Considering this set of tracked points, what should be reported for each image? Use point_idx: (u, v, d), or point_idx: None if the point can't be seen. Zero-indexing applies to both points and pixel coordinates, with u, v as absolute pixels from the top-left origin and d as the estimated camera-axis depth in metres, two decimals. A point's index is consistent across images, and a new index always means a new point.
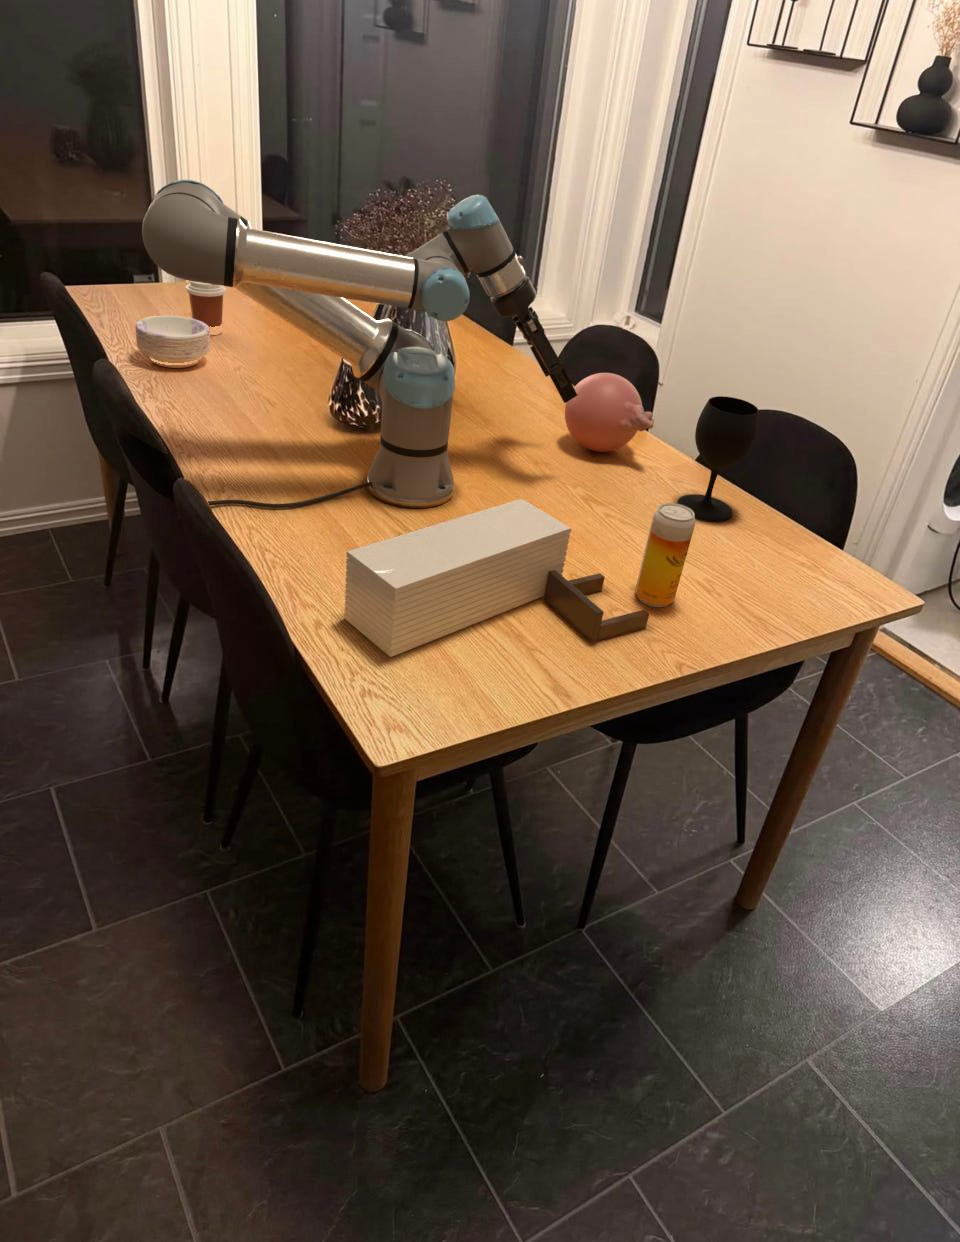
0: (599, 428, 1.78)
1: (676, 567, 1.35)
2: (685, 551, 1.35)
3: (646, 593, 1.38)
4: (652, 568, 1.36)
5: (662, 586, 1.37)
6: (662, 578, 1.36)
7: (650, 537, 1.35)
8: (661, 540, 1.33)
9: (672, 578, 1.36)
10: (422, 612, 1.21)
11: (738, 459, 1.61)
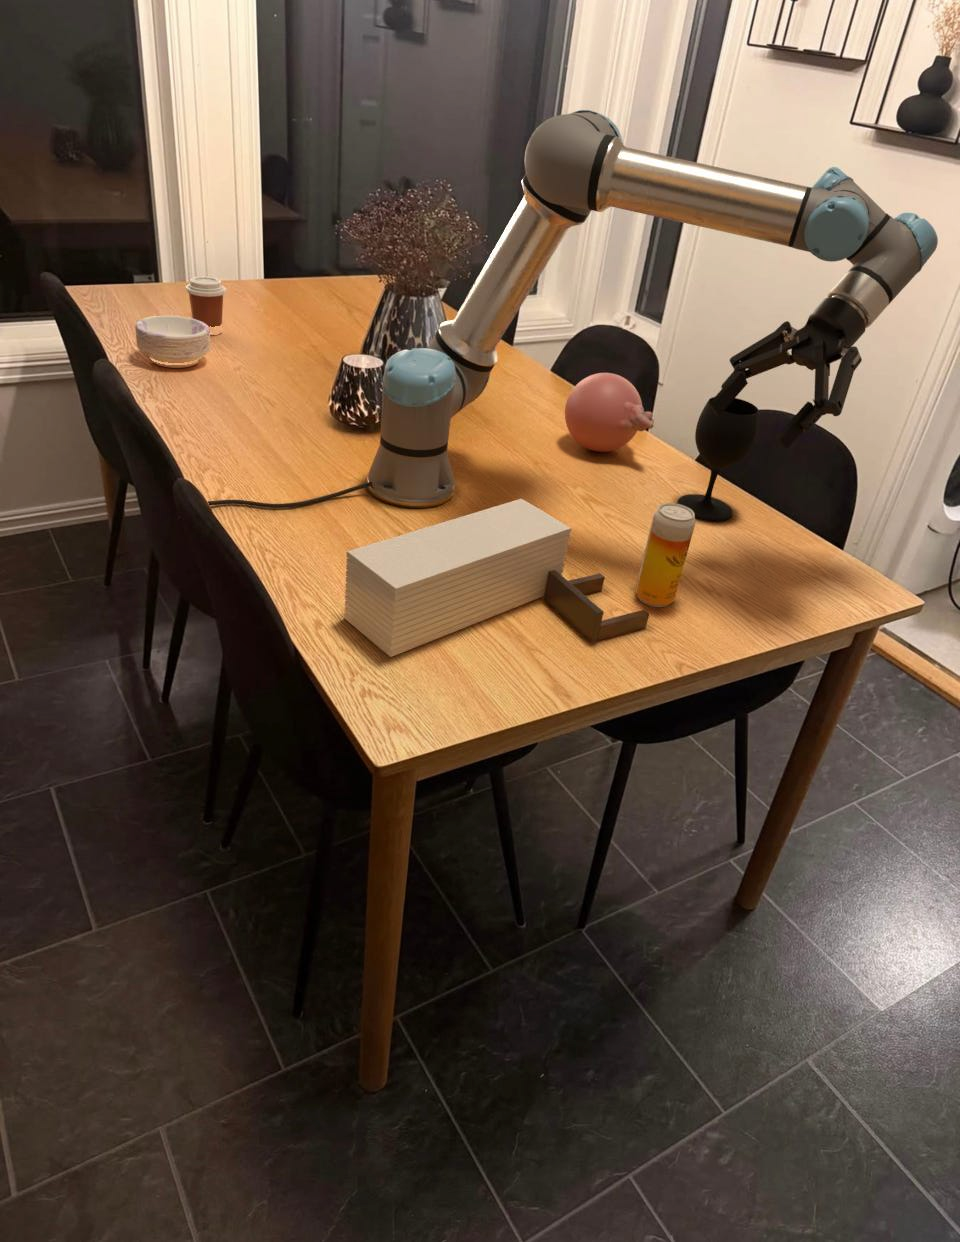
0: (599, 428, 1.78)
1: (676, 567, 1.35)
2: (685, 551, 1.35)
3: (646, 593, 1.38)
4: (652, 568, 1.36)
5: (662, 586, 1.37)
6: (662, 578, 1.36)
7: (650, 537, 1.35)
8: (661, 541, 1.33)
9: (672, 578, 1.36)
10: (422, 612, 1.21)
11: (738, 459, 1.61)
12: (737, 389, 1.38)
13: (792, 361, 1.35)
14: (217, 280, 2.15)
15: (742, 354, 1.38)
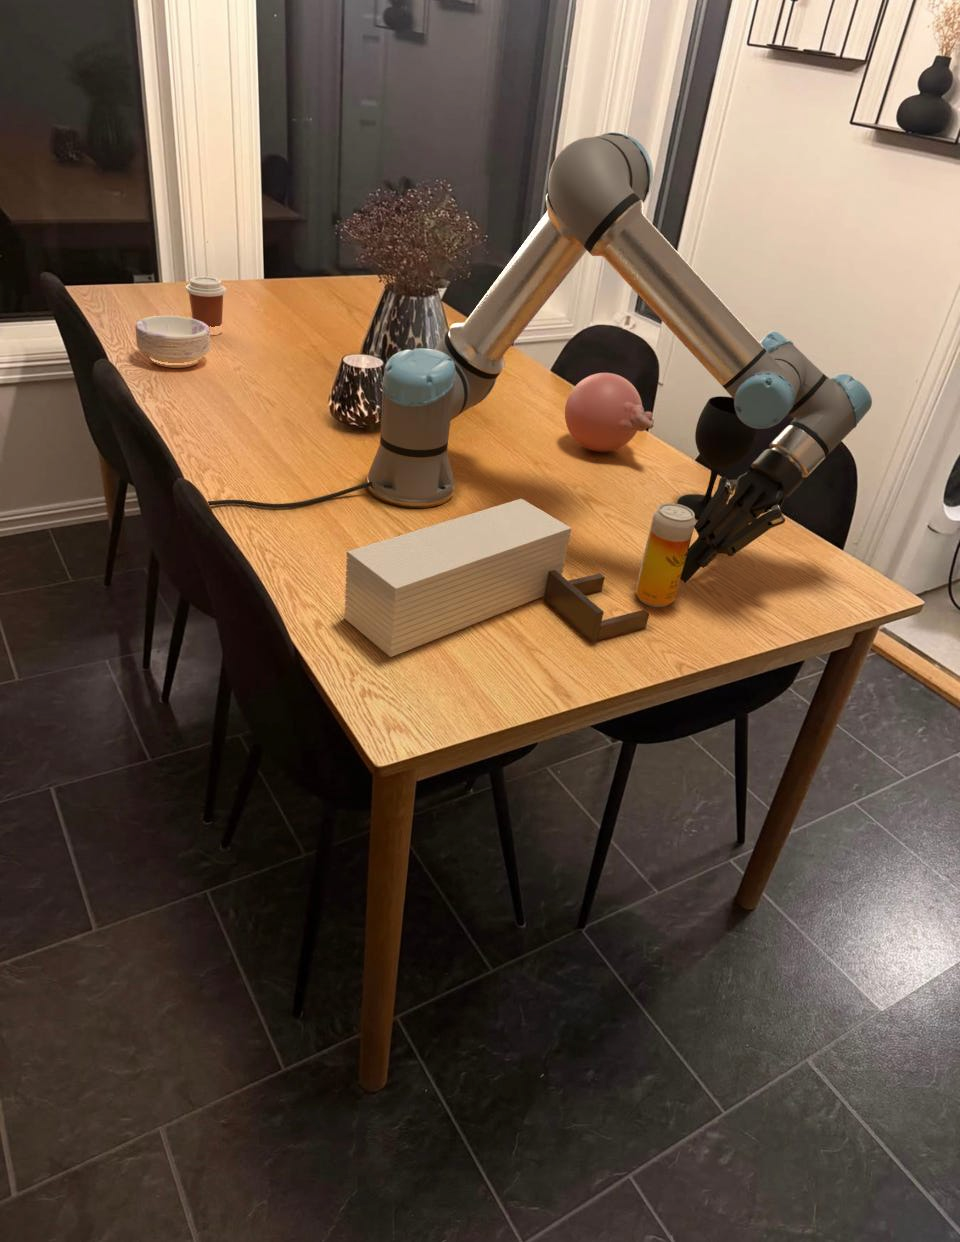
0: (599, 428, 1.78)
1: (676, 567, 1.35)
2: (685, 551, 1.35)
3: (646, 593, 1.38)
4: (652, 568, 1.36)
5: (662, 587, 1.37)
6: (662, 578, 1.36)
7: (650, 537, 1.35)
8: (661, 541, 1.33)
9: (672, 578, 1.36)
10: (422, 612, 1.21)
11: (738, 459, 1.61)
12: None
13: None
14: (217, 280, 2.15)
15: (703, 518, 1.43)
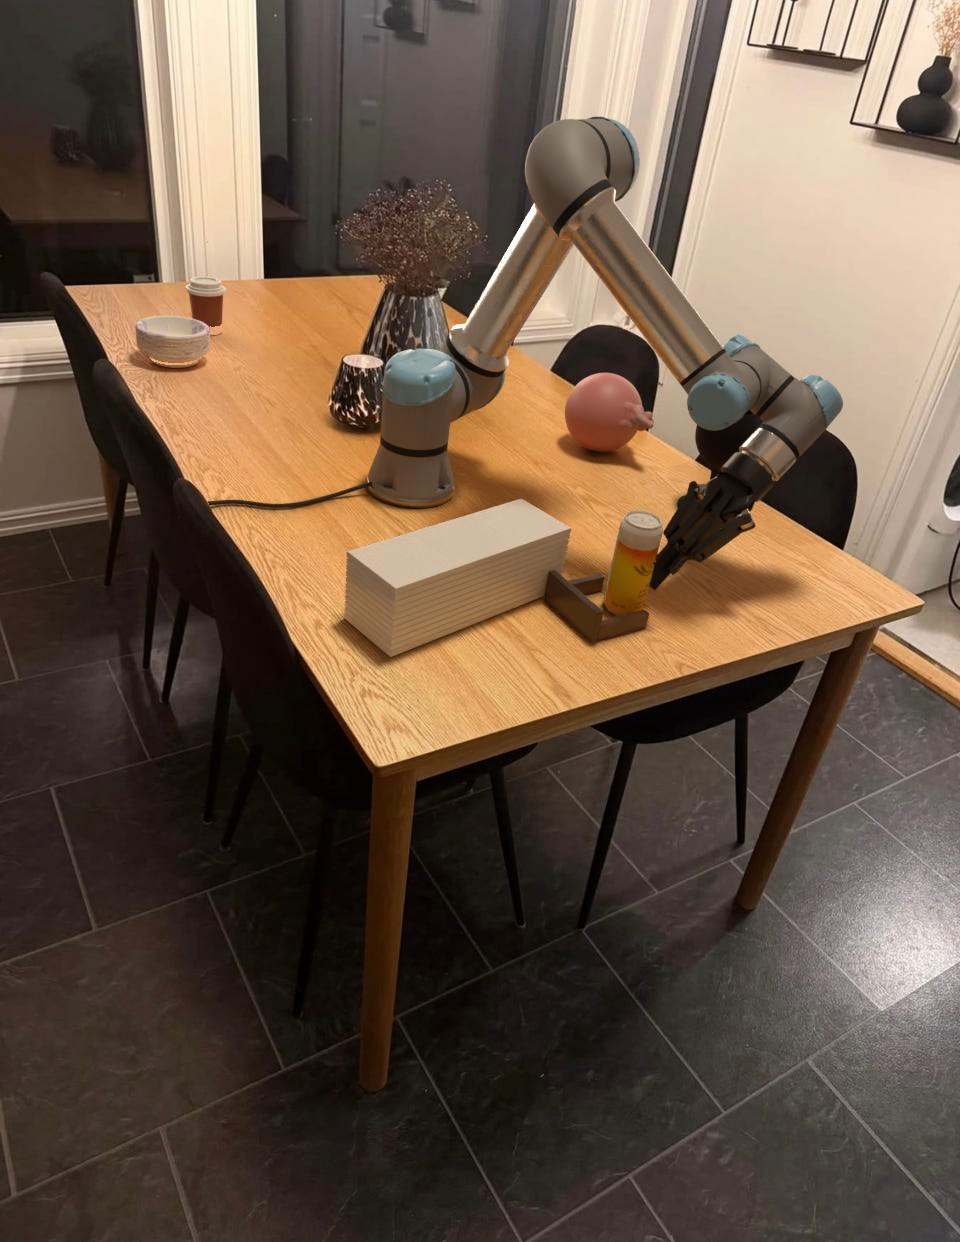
0: (599, 428, 1.78)
1: (644, 576, 1.32)
2: (653, 560, 1.31)
3: (614, 603, 1.35)
4: (620, 578, 1.33)
5: (630, 596, 1.34)
6: (630, 588, 1.33)
7: (617, 546, 1.32)
8: (628, 550, 1.30)
9: (640, 587, 1.33)
10: (422, 612, 1.21)
11: None
12: None
13: None
14: (217, 280, 2.15)
15: (672, 524, 1.40)
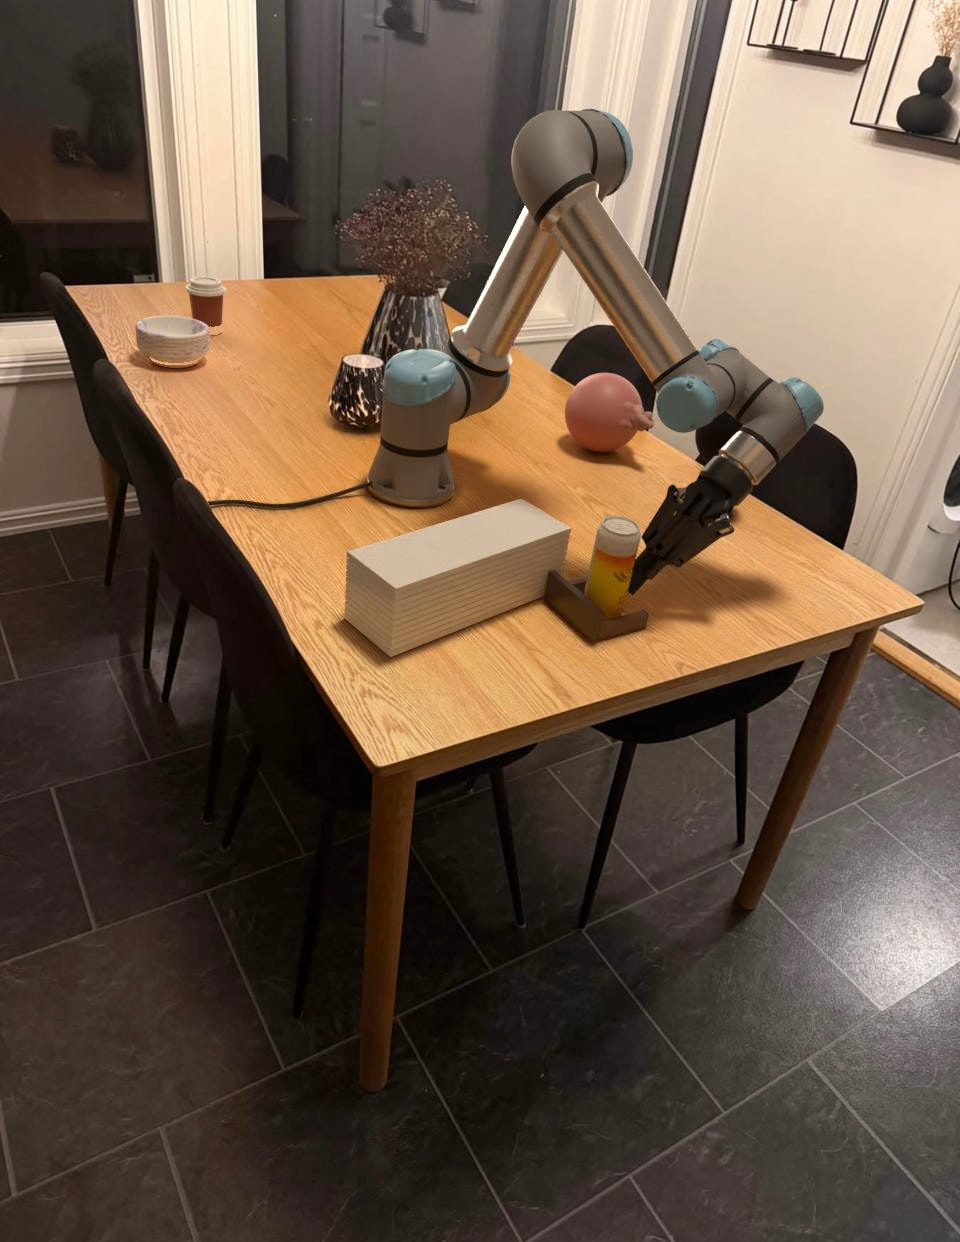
0: (599, 428, 1.78)
1: (624, 583, 1.30)
2: (632, 565, 1.29)
3: None
4: (599, 585, 1.30)
5: (610, 603, 1.31)
6: (610, 595, 1.30)
7: (595, 553, 1.29)
8: (607, 557, 1.27)
9: (620, 594, 1.31)
10: (422, 612, 1.21)
11: None
12: None
13: None
14: (217, 280, 2.15)
15: (650, 528, 1.37)
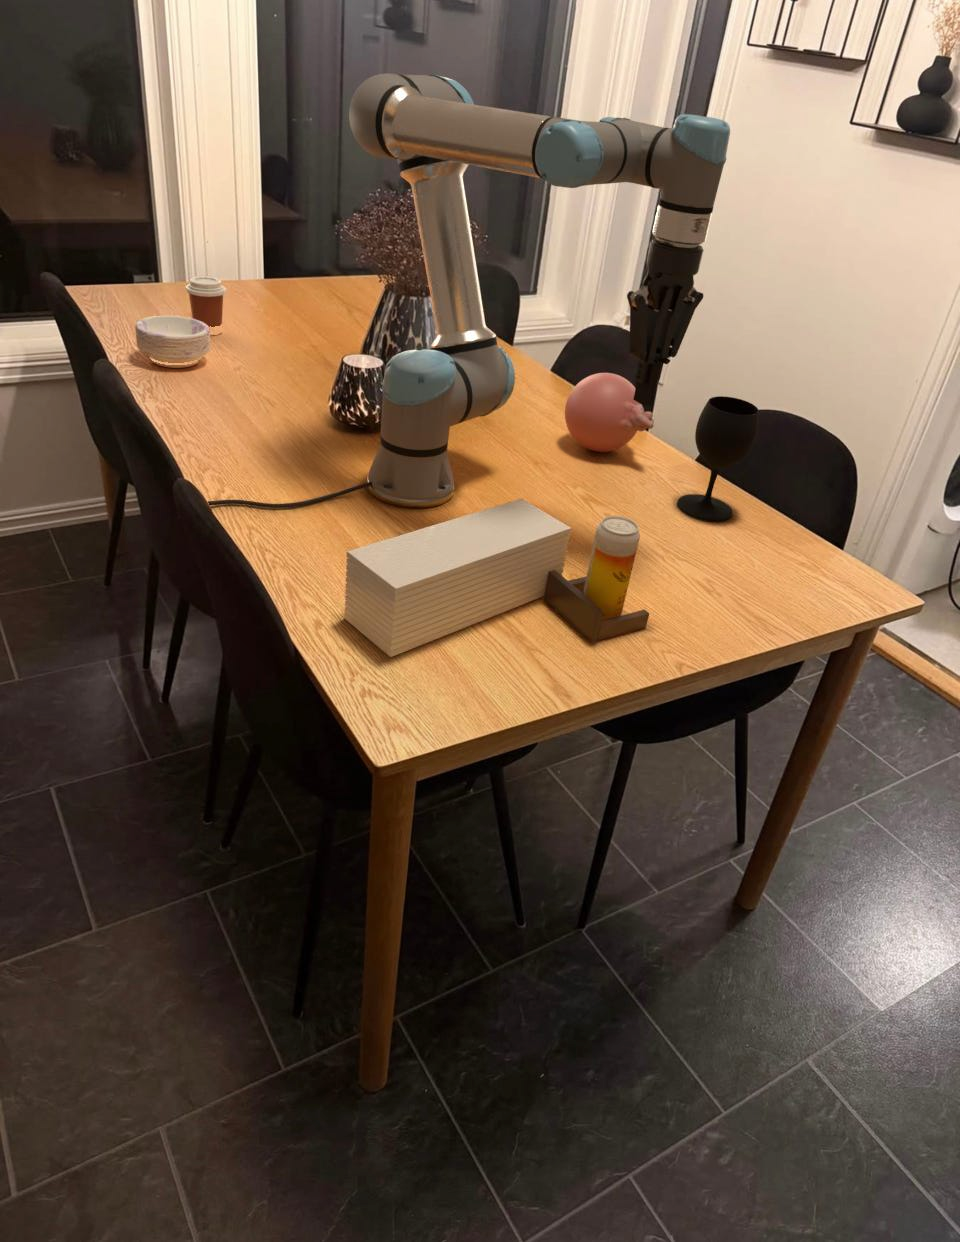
0: (599, 428, 1.78)
1: (623, 583, 1.30)
2: (631, 565, 1.29)
3: None
4: (599, 585, 1.30)
5: (609, 603, 1.31)
6: (609, 595, 1.30)
7: (594, 554, 1.29)
8: (607, 557, 1.27)
9: (619, 594, 1.31)
10: (422, 612, 1.21)
11: (738, 459, 1.61)
12: None
13: (672, 311, 1.34)
14: (217, 280, 2.15)
15: None
